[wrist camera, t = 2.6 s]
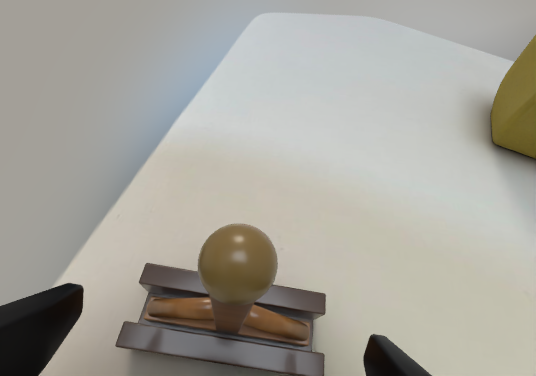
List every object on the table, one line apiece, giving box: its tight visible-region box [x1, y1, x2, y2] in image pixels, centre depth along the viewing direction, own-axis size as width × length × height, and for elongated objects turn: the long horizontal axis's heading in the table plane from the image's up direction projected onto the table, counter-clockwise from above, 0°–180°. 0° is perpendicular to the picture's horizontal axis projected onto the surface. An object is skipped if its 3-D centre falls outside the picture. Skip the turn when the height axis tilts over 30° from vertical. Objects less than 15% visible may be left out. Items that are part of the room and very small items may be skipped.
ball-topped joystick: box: [144, 224, 310, 347], centre depth 11 cm, size 2×9×13 cm, turn 83°
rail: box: [116, 263, 326, 376], centre depth 15 cm, size 4×10×3 cm, turn 82°
